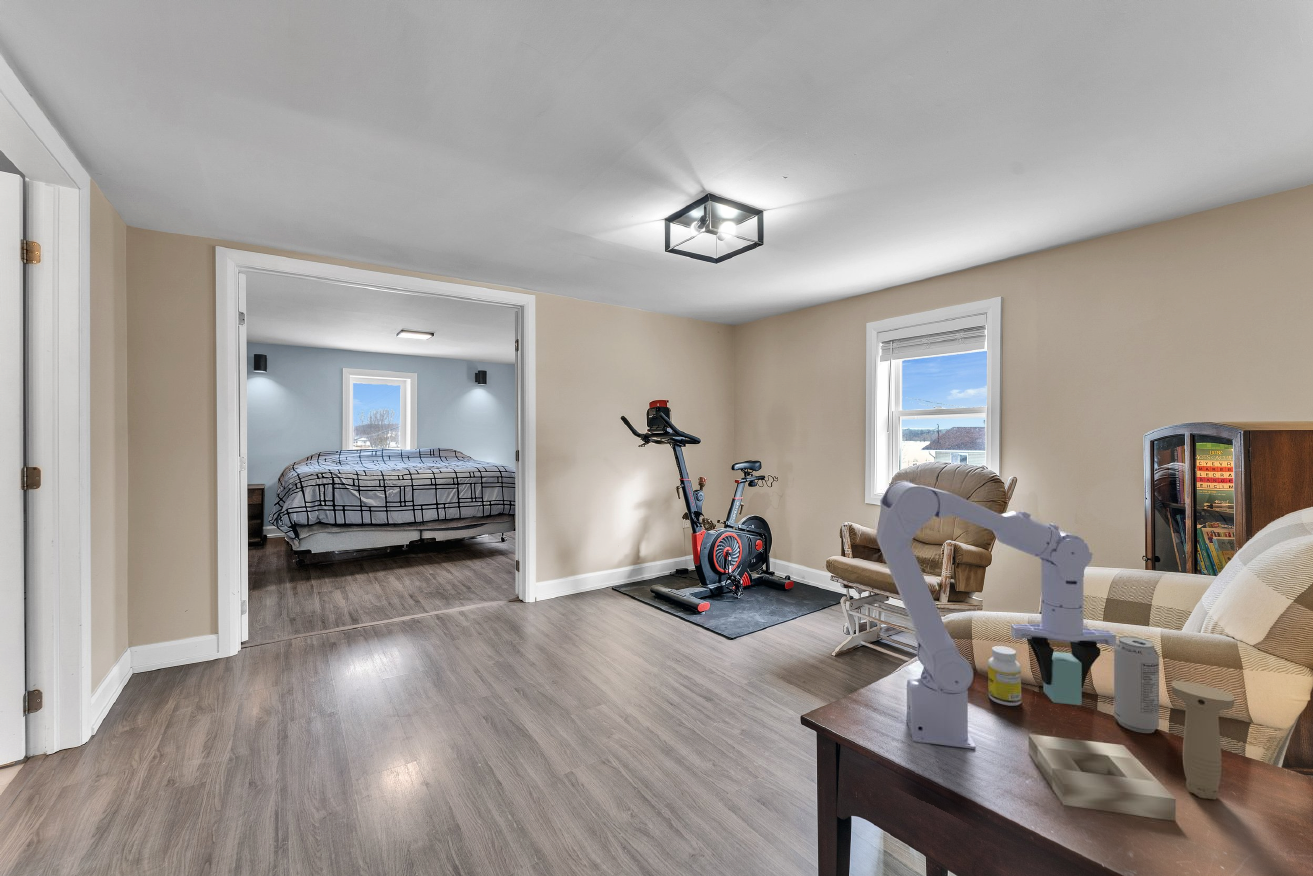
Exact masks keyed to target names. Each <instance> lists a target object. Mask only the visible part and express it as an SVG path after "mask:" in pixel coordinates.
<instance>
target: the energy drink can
mask: <svg viewBox="0 0 1313 876" xmlns="http://www.w3.org/2000/svg"><path fill="white" fill-rule="evenodd" d="M1117 640H1118V641H1116V647H1115V646H1113V716H1114V718H1115V719H1117V723H1118V724H1119V725H1120V726H1122V727H1123V728H1125V729H1128V730H1130V731H1132V732H1136V733H1141V734H1142V733H1143V734H1152V733H1155V730H1156V729H1159V726H1160V654H1159V653H1158V651H1157V649H1156V648H1155V643H1154V642H1152V641H1150V640H1148V639H1144V638H1141V637H1137V636H1132V635H1131V636H1130V635H1129V636H1127V635H1122V636H1119V637H1118V638H1117Z"/></svg>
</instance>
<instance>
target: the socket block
mask: <svg viewBox="0 0 1313 876" xmlns="http://www.w3.org/2000/svg"><path fill="white" fill-rule="evenodd" d="M1028 754H1029V755H1030V756H1031V758H1032V759H1033V761H1034V763H1035V764H1036V765H1037V766H1036V767H1038V769H1039V770H1040V772H1041V773H1042V774H1043V776H1044V778H1045V779H1046V781H1047V782H1048V784H1049V785H1050V787H1051V788H1052V790H1053V791H1054V793H1055V794H1056V796H1057V797H1058V799H1059V801H1060V802H1061V804H1063V806H1069V807H1076V808H1083V809H1090V810H1095V811H1096V810H1097V811H1103V812H1109V813H1110V812H1111V813H1117V814H1124V815H1131V816H1139V817H1146V818H1152V819H1157V820H1158V819H1160V820H1167V821H1172V822H1173V821H1174V822H1175V821H1177V819H1176V818H1177V816H1176V814H1177V812H1176V811H1177V810H1176V807H1177V803H1176V800H1177V799H1176V797H1175V796H1174V795H1172V793H1170V791H1169V790H1167V788H1165V787H1164V785H1163V784H1161V782H1160V781H1159V780H1158V779H1157V778H1156V777H1155V776H1154V775H1153V774H1152V773H1151V772H1150V771H1149V770H1148V769H1147V767H1145V765H1143V764H1142V763H1141V761H1139V759H1137V757H1135V755H1133V754H1132V752H1131V751H1130V750H1129V749H1128V748H1127V747H1126V746H1125V745H1124V744H1117V743H1107V742H1100V741H1099V742H1098V741H1092V740H1082V739H1076V738H1075V739H1074V738H1065V737H1056V736H1048V735H1042V734H1041V735H1040V734H1039V735H1037V734H1030V733H1028Z"/></svg>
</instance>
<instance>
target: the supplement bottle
mask: <svg viewBox="0 0 1313 876" xmlns="http://www.w3.org/2000/svg"><path fill="white" fill-rule="evenodd" d="M991 656H992V657H990V658H989V659H988V661H987V662H988V663H987V672H988V675H987V677H988V678H987V680H988V681H987V683H988V684H987V685H988V697H989V698H990V699H991V700H992V701H993V702H995V703H997V704H1001V705H1004V706H1009V707H1011V706H1012V707H1013V706H1018V705H1020V704H1021V703H1022V671H1021V670H1022V669H1021V665H1020V663H1019V662H1018V661H1016V660H1017V651H1016V650H1015V649H1014V648H1011V647H1008V646H1003V645H996V646H995V645H994V646H992V647H991Z"/></svg>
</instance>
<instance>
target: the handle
mask: <svg viewBox="0 0 1313 876" xmlns="http://www.w3.org/2000/svg"><path fill="white" fill-rule="evenodd" d="M1171 693H1172V695H1173V696H1175V698H1177V699H1179V700H1180V701H1182V702H1183V703H1184V705H1185V717H1184V718H1185V719H1184V720H1185V721H1184V733H1183V741H1182V742H1183V743H1182V765H1183V772H1184V775H1185V776H1184V777H1185V779H1186V781H1185V784H1186V785H1185V786H1186V789H1187V791H1188V792H1189V793H1192V794H1194V795H1196V796H1198V798H1200V799H1203V798H1204V799H1209V800H1212V799H1213V800H1212V801H1214V799H1215V800H1217V798H1218V794H1219V792H1218V790H1219V787H1220V784H1221V778H1222V768H1223V763H1222V759H1223V758H1222V748H1221V736H1220V721H1219V717H1220V716H1219V715H1220V712H1221V711H1227V710H1228V711H1229V710H1233V708H1234V707H1235V696H1234V695H1233V694H1232V693H1230V692H1227V691H1225V690H1222V689H1220V688H1215V687H1212V686H1208V685H1204V684H1200V683H1195V682H1189V681H1182V680H1175V681H1172V682H1171ZM1204 799H1203V800H1204Z"/></svg>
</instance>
